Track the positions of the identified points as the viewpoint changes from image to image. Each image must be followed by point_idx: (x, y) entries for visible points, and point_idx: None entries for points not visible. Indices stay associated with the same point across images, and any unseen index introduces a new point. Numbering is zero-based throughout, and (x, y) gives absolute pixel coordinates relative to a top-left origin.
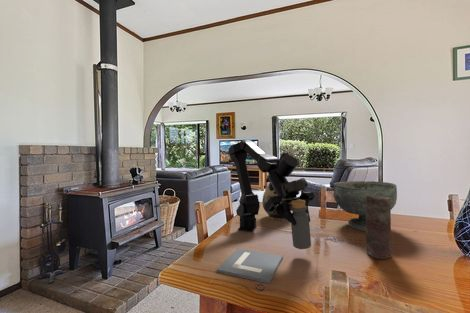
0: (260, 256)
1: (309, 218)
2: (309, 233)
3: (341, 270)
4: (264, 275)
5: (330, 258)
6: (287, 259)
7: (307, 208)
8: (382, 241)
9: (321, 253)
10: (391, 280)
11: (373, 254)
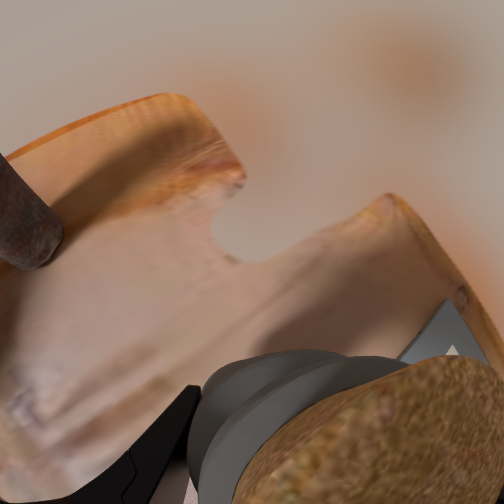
0: None
1: (183, 399)
2: (237, 361)
3: (211, 244)
4: (449, 326)
5: (160, 320)
6: None
7: (114, 476)
8: (32, 190)
9: (151, 370)
10: (157, 158)
11: (57, 235)
